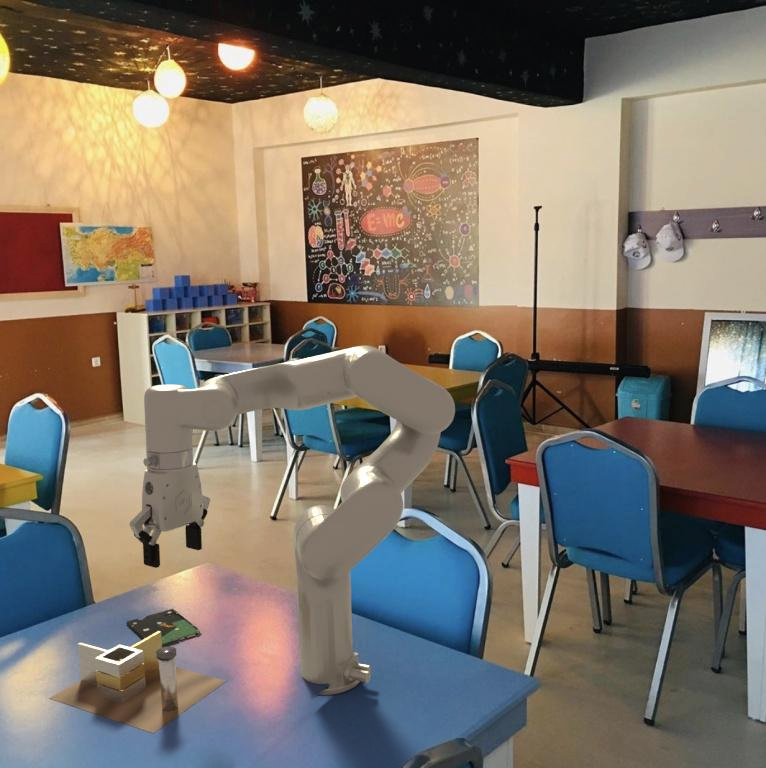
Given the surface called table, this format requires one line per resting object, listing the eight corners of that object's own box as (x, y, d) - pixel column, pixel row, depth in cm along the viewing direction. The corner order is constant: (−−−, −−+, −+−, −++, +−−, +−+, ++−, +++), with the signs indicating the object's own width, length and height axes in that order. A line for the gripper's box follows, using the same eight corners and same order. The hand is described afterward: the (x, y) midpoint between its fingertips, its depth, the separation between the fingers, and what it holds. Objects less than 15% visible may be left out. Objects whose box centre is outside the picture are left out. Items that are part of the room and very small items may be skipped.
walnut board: (227, 689, 147) (226, 681, 147) (154, 741, 131) (153, 733, 131) (127, 660, 158) (127, 653, 158) (49, 706, 143) (49, 698, 142)
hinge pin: (184, 704, 139) (180, 648, 138) (170, 714, 136) (166, 657, 135) (169, 700, 141) (165, 644, 139) (156, 709, 138) (151, 653, 136)
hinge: (173, 670, 151) (171, 634, 150) (121, 703, 140) (118, 665, 139) (123, 656, 157) (120, 621, 156) (69, 687, 146) (66, 649, 145)
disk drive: (126, 634, 171) (154, 659, 159) (125, 621, 171) (153, 646, 159) (173, 620, 177) (204, 643, 166) (172, 607, 177) (203, 630, 165)
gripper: (146, 473, 130) (150, 577, 132) (222, 451, 144) (224, 546, 147) (113, 466, 133) (118, 568, 136) (190, 446, 148) (193, 538, 151)
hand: (173, 557), depth 141 cm, fingers open, 9 cm apart
